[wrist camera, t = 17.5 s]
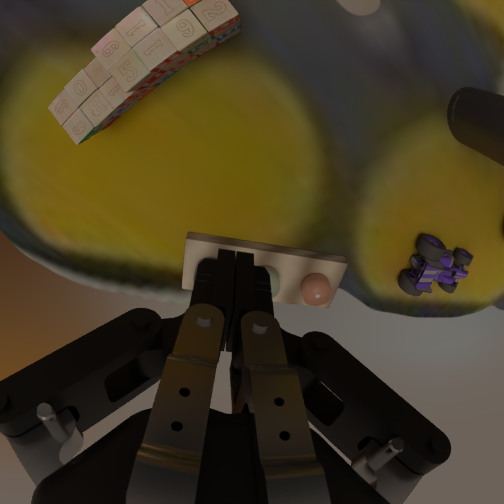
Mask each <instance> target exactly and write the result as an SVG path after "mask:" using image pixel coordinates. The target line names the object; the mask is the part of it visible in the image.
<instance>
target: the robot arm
mask: <svg viewBox="0 0 504 504" xmlns="http://www.w3.org/2000/svg"><path fill="white" fill-rule="evenodd" d="M447 119H448V125H449V128H450V130H451V132H452V134H453V136H454V137H455V138H456V139H457V140H458V141H459V142H461V143H463V144H465V145H466V146H468V147H470V148H472V149H474V150H476V151H478V152H479V153H481V154H483V155H485V156H487V157H489V158H490V159H492V160H494V161H496V162H497V163H499V164H501V165H502V166H504V96H502V95H499V94H495V93H491V92H488V91H484V90H480V89H476V88H472V87H464V88H461V89H459V90H458V91H457V92H456V93H455V94H454V95H453V96H452V98H451V100H450V102H449V105H448V111H447ZM235 253H236V256H235ZM225 343H226V351H227V352H232V360H231V365H230V384H231V400H232V414H226V413H223V412H220V411H217V410H214V409H211V408H210V403H211V397H212V391H213V385H214V379H215V373H216V368H217V364H218V362H219V357H220V352H221V351H224V348H225ZM160 379H161V380H160ZM159 380H160V383H159V386H158V390H157V393H156V396H155V400H154V403H153V407H152V408H150V409H146V410H143V411H140V412H138V413H136V414H134V415H132V416H130V417H129V418H128V419H126V420H125V421H124V422H122V423H121V424H120V425H118V426H117V427H116V428H114V429H113V430H112V431H110V432H109V433H108V434H106V435H105V436H104V437H102V438H101V439H99V440H98V441H97V442H95V443H94V444H93V445H91V446H90V447H88V448H87V449H86V450H84V451H83V452H82V453H80V454H79V455H77V456H76V457H75V458H73V456H74V455H75V454H76V453H77V452H78V451H79V450H80V449H81V447H82V445H83V440H84V438H83V433H82V432H84V431H85V430H87V429H89V428H90V427H91V426H93V425H95V424H96V423H98V422H99V421H101V420H102V419H104V418H105V417H107V416H108V415H110V414H111V413H113V412H114V411H116V410H117V409H119V408H120V407H122V406H123V405H124V404H126V403H127V402H129V401H130V400H132V399H133V398H135V397H136V396H137V395H139V394H140V393H142V392H143V391H145V390H146V389H148V388H149V387H150V386H152V385H153V384H155V383H156V382H158V381H159ZM321 382H322V383H324V384H325V385H326V386H327V387H328V388H329V389H330V390H331V391H332V392H333V393H334V394H335V395H336V396H337V397H339V398H340V399H341V400H340V399H339V398H337V397H336V396H335V395H334V394H333V393H332V392H331V391H330V390H329V389H327V387H326V386H324V385H323V384H322V383H321ZM308 421H310V422H311V423H312V424H313V425H314V426H315V427H316V428H317V429H318V430H319V431H320V432H321V433H322V434H323V435H324V436H325V437H326V438H327V439H328V440H329V441H330V442H331V443H332V444H334V445H335V446H336V447H337V448H338V449H339V450H340V451H341V452H342V453H343V454H344V455H345V456H346V457H348V458H349V459H350V460H351V466H350V465H349V464H348V463H347V462H346V461H345V460H344V459H343V458H342V457H341V456H340V455H338V453H337V452H336V451H335V450H334V449H333V448H332V447H331V446H330V445H329V444H328V443H327V442H326V441H325V440H324V439H323V438H322V437H321V436H320V435H319V434H318V433H316V432H315V431H314V430H312V429H311V428H310V427H309V423H308ZM0 432H1V433H2V435H3V436H4V437H5V438H6V439H7V440H8V441H9V443H10V444H11V446H12V448H13V450H14V451H15V453H16V454H17V457H18V458H19V460H20V462H21V463H22V465H23V467H24V468H25V470H26V471H27V473H28V474H29V476H30V477H31V479H32V480H33V482H34V483H35V485H36V486H37V487H36V489H35V491H34V493H33V496H32V501H31V504H403V502H404V501H405V500H406V498H407V497H408V496H409V495H410V493H411V492H412V491H413V489H414V488H415V486H416V485H417V484H418V482H419V480H420V479H421V478H422V476H424V475H425V474H427V473H428V472H430V471H431V470H433V469H434V468H436V467H438V466H439V465H441V464H442V463H444V462H445V461H446V460H447V459H448V458H449V456H450V453H451V445H450V441H449V439H448V438H447V436H446V435H445V434H444V433H443V432H442V431H441V430H440V429H438V428H437V427H436V426H435V425H434V424H433V423H431V422H430V421H429V420H428V419H426V418H425V417H424V416H423V415H422V414H421V413H419V412H418V411H417V410H416V409H415V408H414V407H412V406H411V405H410V404H409V403H408V402H406V401H405V400H404V399H403V398H402V397H400V396H399V395H398V394H397V393H396V392H395V391H394V390H392V389H391V388H390V387H389V386H388V385H386V384H385V383H384V382H383V381H382V380H380V379H379V378H378V377H377V376H376V375H375V374H374V373H372V372H371V371H370V370H369V369H368V368H367V367H365V366H364V365H363V364H362V363H361V362H360V361H358V360H357V359H356V358H355V357H354V356H352V355H351V354H350V353H349V352H348V351H347V350H346V349H344V348H343V347H342V346H341V345H340V344H339V343H338V342H336V341H335V340H334V339H333V338H332V337H330V336H329V335H327V334H325V333H322V332H318V331H313V332H308V333H306V334H305V335H304V336H303V337H299V336H296V335H293V334H290V333H288V332H286V331H285V330H283V329H282V328H281V327H280V325H279V323H278V321H277V319H276V318H275V317H274V311H273V301H272V292H271V280H270V274H269V273H268V271H267V270H266V268H265V267H262V266H255V265H254V253H247V252H241V251H237V252H236V251H234V250H227V249H221V248H219V249H218V256H217V260H215V259H208V258H204V259H203V260H202V261H201V262H200V263H199V264H198V267H197V272H196V277H195V281H194V286H193V291H192V296H191V301H190V306H189V308H188V309H187V310H186V312H185V313H184V314H182V315H180V316H178V317H174V318H166V319H161V317H160V316H159V315H158V314H157V313H156V312H155V311H153V310H150V309H147V308H136V309H132V310H130V311H128V312H126V313H124V314H122V315H121V316H119V317H117V318H115V319H113V320H111V321H109V322H108V323H106V324H104V325H102V326H100V327H98V328H97V329H95V330H93V331H92V332H89V333H87V334H86V335H84V336H82V337H80V338H78V339H76V340H75V341H73V342H71V343H69V344H67V345H65V346H64V347H62V348H60V349H58V350H56V351H54V352H53V353H51V354H49V355H47V356H46V357H44V358H42V359H40V360H38V361H36V362H34V363H33V364H31V365H29V366H27V367H25V368H24V369H22V370H20V371H18V372H16V373H15V374H13V375H11V376H9V377H7V378H5V379H3V380H2V381H0ZM72 458H73V459H72Z"/></svg>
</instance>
